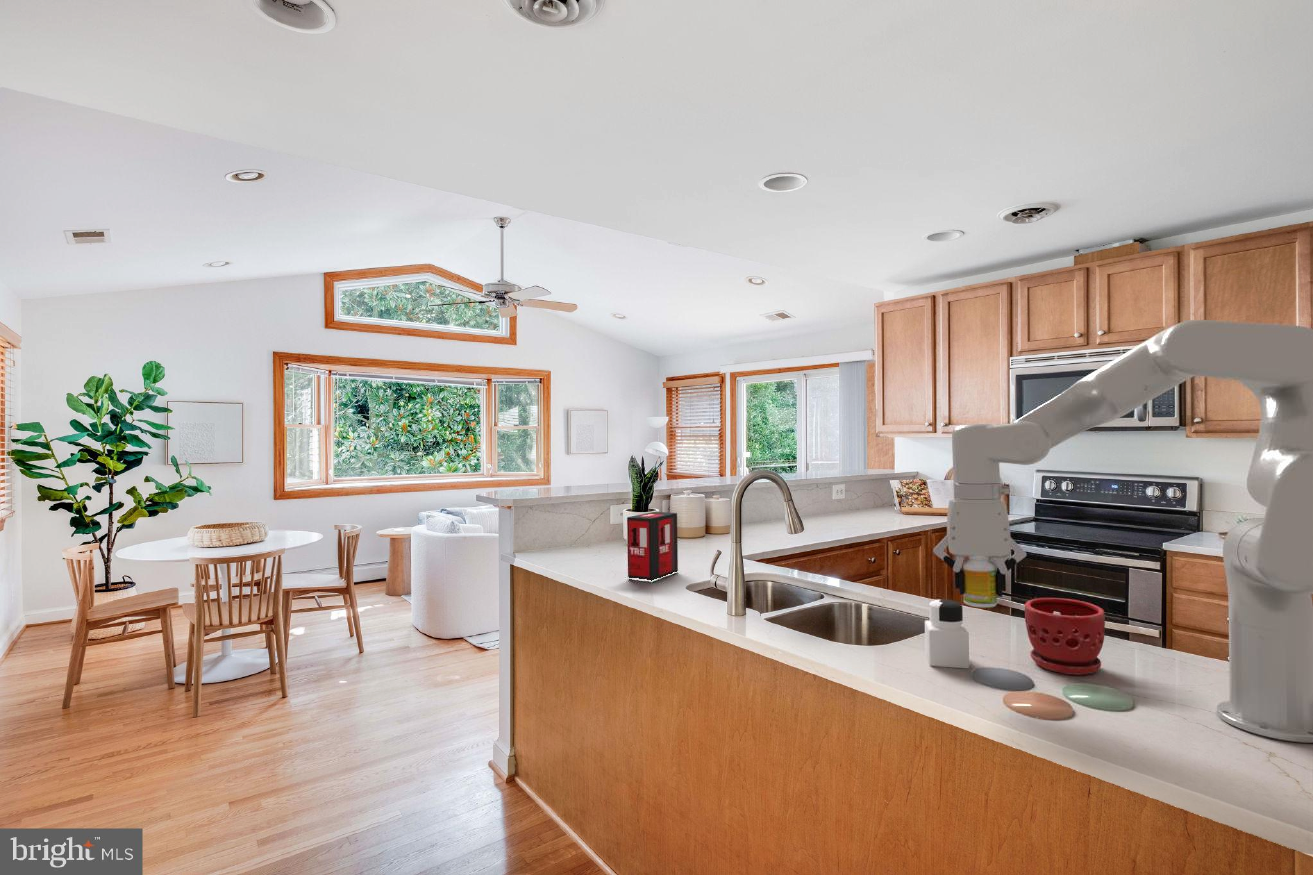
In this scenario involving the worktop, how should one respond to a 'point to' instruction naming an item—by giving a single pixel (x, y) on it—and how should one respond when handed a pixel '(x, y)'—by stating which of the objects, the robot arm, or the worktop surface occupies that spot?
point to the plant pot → (1065, 634)
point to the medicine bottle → (946, 635)
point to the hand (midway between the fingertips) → (980, 592)
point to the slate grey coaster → (1002, 678)
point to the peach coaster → (1038, 705)
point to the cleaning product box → (652, 545)
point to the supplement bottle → (979, 582)
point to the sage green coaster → (1097, 696)
